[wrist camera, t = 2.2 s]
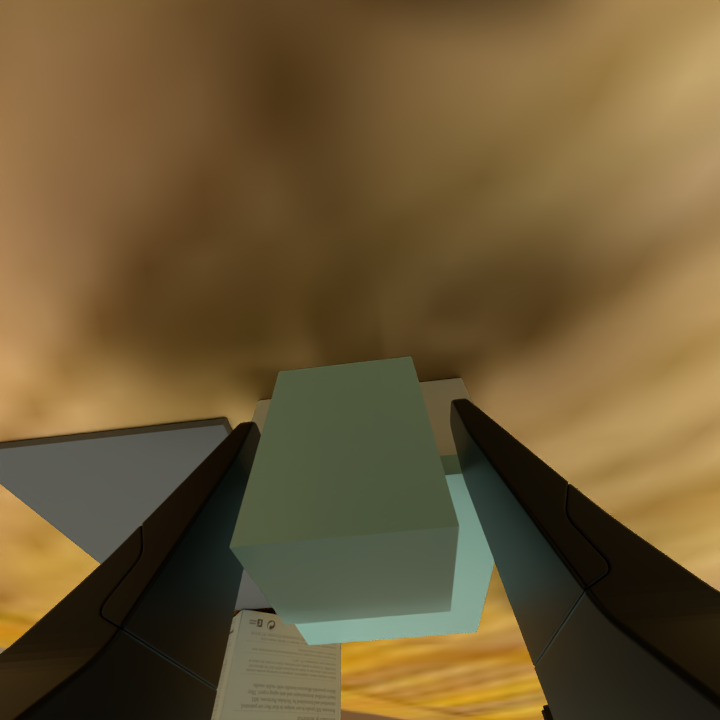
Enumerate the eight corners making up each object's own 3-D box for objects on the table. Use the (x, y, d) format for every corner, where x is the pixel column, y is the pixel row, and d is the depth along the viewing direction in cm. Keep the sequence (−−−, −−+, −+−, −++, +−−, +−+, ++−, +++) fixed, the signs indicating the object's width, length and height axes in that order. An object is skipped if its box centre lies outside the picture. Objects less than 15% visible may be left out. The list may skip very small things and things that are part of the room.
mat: (315, 597, 26) (314, 603, 26) (168, 610, 27) (166, 616, 26) (226, 418, 15) (223, 424, 14) (-30, 446, 15) (-38, 453, 15)
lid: (469, 603, 19) (500, 722, 15) (310, 616, 19) (302, 735, 15) (517, 344, 9) (648, 507, 5) (179, 382, 9) (60, 563, 5)
